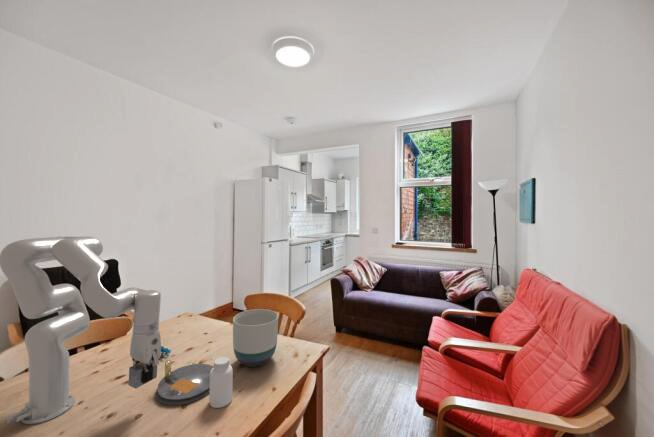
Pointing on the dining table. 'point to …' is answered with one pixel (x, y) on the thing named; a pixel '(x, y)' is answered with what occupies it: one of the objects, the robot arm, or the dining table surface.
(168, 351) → the blue green toy
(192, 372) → the turntable
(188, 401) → the base plate
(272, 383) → the dining table surface
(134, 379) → the link block
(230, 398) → the pill bottle
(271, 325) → the planter
